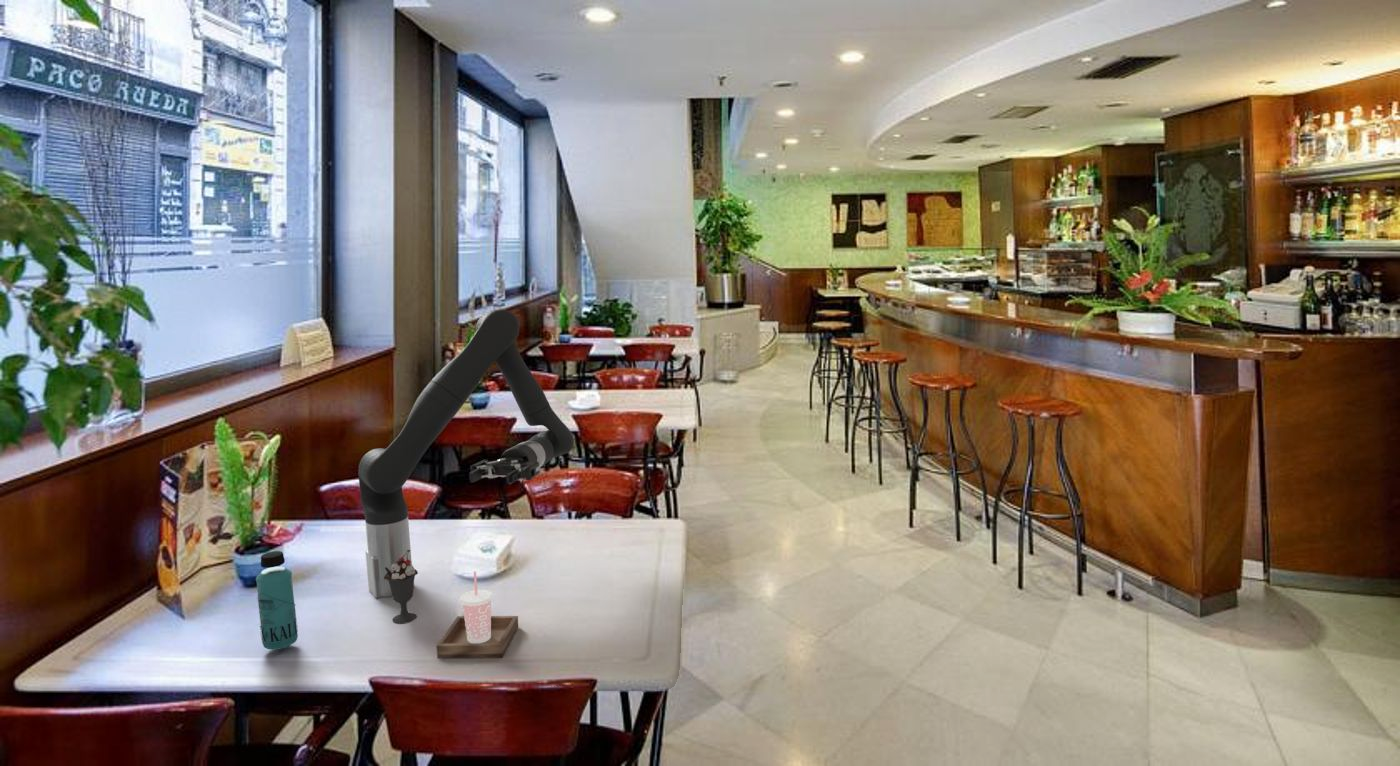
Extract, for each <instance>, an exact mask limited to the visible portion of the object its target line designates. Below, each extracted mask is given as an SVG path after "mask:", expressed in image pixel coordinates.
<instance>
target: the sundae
mask: <svg viewBox="0 0 1400 766" xmlns="http://www.w3.org/2000/svg"><path fill="white" fill-rule="evenodd" d="M407 552H408V553H409V552H410V550H407ZM407 552H406V553H407ZM405 555H406V554H405ZM405 555H404V556H405ZM404 556H403V557H404ZM407 556H408V554H407ZM403 557H402V558H399V560H398V561H397V562H395V563H394V564H393V565H392V567H391V571H390V570H389V569H388V568H387V567H385V569H386V571H387V572H388V573H386V574H385V576H384V579H386V580H388V581H389V584H390V588H391V593H392V596H391V597H392V599H393V601H395V603H397V604H399V605H400V613H398V614H397V615H395V616H394V617H392V620H391V621H392V622H393V623H395V624H407V623H410V622H413V621H415V620H416V619H417V617H418V616H417V614H416V613H415V612H414V613H413V612H409V610H408V606H407V604H408V602H409V601H411V599H412V598H413V596H414V590H415V589H414V585H415V584H414V583H415V578H416V577H415V576H416V575H418V573H419V572H418V571H417V569H416V568H415V567H414V565H413V564H412V565H410V563H411V561H410V560H408V557H407V560H406V561H404V558H403Z"/></svg>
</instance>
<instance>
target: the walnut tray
mask: <svg viewBox="0 0 1400 766" xmlns="http://www.w3.org/2000/svg"><path fill="white" fill-rule="evenodd" d="M518 629H519V616H518V615H491V638H490V639H489V640H488V641H486V642H483V643H470V642H468V641H467V633H466V626H465V618H464V615H461V616H460V615H459V616H457V617H456V618H455V620H454V621H453V622H452V623H451V625H450V626H449V628H448V629H447V630H446V632H445V634H444V635H443V636H442V637H441V639H440V640H439V642H438V643H437V644H436V655H437V659H502V658H503V657H504V655H505V654H506V652H507V650H508V648H509V646H510V645H511V643H512V641H513V639H514V637H515V635H516V633H517V631H518Z"/></svg>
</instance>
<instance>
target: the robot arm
mask: <svg viewBox="0 0 1400 766" xmlns="http://www.w3.org/2000/svg"><path fill="white" fill-rule="evenodd" d="M475 326H476V327H475V333H474V334H473V336H472V337H471V339H470V340H469V341H468V343H467V344H466V346H465V347H464V348H463V350H461V351H460V352H459V353H458V354H457V355H456V356H455V357H454V358H453V359H452V360H451V361H449V362H448V363H447V364H446V365H445V366H444V367H443V368H441V370H439V371H438V373H436V374H435V376H434V377H433V378H432V379H431V380H430V381H429V382H428V384H427V385H426V386H425V387H424V389H423V390H422V391H421V393H420V394H419V395H418V397H417V398H416V400H415V402H414V404H413V405H412V408H411V409H410V410H411V411H410V413H409V415H408V418H407V419H406V422H405V424H404V426H403V428H402V429H401V431H400V432H399V434H398V435H397V436H396V437H395V439H393V441H392V442H391V443H390V444H389V445H388V446H387V447H386V448H383V447H382V448H381V447H380V448H373V449H371V450H369V451H368V452H367V453H365V454H364V455H363V456H362V458H361V459H360V460H359V464H358V472H357V473H358V483H359V493H360V503H361V507H362V509H363V510H362V511H363V514H364V521H365V532H366V543H367V544H366V545H367V550H365V560H366V561H365V562H366V573H367V582H368V591H369V592H370V594H372V595H373V596H374V598H377V599H378V598H382V597H383V598H384V597H386V598H387V597H392V593H391V588H390V584H389V581H388V580H386V579H384V576H385V574H386V573H388V572H387V571H386V569H385V567H387V568H388V569H389V570H390V571H391V567H392V565H393V564H394V563H395V562H397V561H398V560H399V558H402V557H403V556H404V555H405V554H406V555H405V556H404V557H403V558H404V561H406V560H407V557H408V560H410V561H411V563H410V565H412V566H413V563H412V551H411V550H412V549H411V548H412V547H411V539H410V538H411V537H410V536H411V535H410V525H409V524H410V521H409V512H408V509H409V508H408V505H407V502H406V498H405V497H404V492H403V486H404V485H405V484H406V483H407V481H408V479H409V478H410V476H411V474H412V473H413V472H414V470H415V469H416V466H417V465H418V463H419V462H420V460H421V459H422V458H423V456H424V454H425V453H426V452H427V450H428V449H429V447H430V446H431V445H432V444H433V442H434V441H435V440H436V439H437V438H438V436H439V435H440V434H441V433H442V432H443V430H444V429H445V428H446V426H447V425H448V424H449V423H450V421H452V420H453V419H454V417H455V416H456V415H457V414H458V412H459V411H460V409H462V407H463V405H465V403H466V402H467V401H468V399H469V397H470V396H471V394H472V393H473V392H474V391H475V389H476V388H477V387H478V385H479V383H480V382H481V380H482V379H483V377H484V376H485V374H486V373H487V371H488V370H489V369H490V367H491V366H492V365H493V364H494V363H495V364H496V365H497V367H498V369H499V370H500V372H501V374H502V377H504V380H505V382H506V383H507V385H508V387H509V390H510V391H511V393H512V395H513V398H514V400H515V402H516V404H517V406H518V408H519V410H520V413H521V414H522V416H523V418H524V420H525V422H526V424H527V425H528V426H530V427H536V426H543V427H545V428H546V429H547V430H545V431H542V432H540V433H537V434H534V435H533V436H531V438H529V439H528V440H526V441H521V442H520V443H518V444H516V445H514V446H512V447H510V448H508V449H506V450H505V451H503V453H502V454H501V456H500V458H499V459H497V460H493V461H489V460H488V459H482V460H480V461H478V462H475V463H473V464H472V465H470V472H469V473H468V481H469V482H470V483H475V482H477V481H480V480H481V479H484V478H488V479H495V478H498V477H501V478H506V484H507V485H513V484H514V483H516V482H517V481H522V480H524V479H525V481H530V480H532V479H534V478H535V477H536V476H538V475H539V474H541V473H540V469H541V467H543V466H545V465H546V464H547V463H549V462H550V460H553V458H557V457H559V456H563V455H565V454H568V453H570V452H571V451H572V450H573V448H574V445H575V440H574V435H573V433H572V432H571V430H570V429H569V427H568V426H567V425H566V424H565V423H564V422H563V421H562V420H561V418H560V417H559V416H558V415H557V414H556V412H555V411H554V410H553V408H552V407H551V404H550V403H549V400H548V399H547V396H546V394H545V392H544V391H543V388H542V386H541V385H540V383H539V382H538V380H537V379H536V377H535V376H534V375H533V373H532V371H531V369H529V368H528V365H526V363H525V360H524V359H523V357H522V356H521V354H520V351H519V349H518V346H517V343H516V340H517V338H518V336H519V333H520V323H519V320H518V318H517V316H516V315H515V314H514V313H513V312H511V311H510V310H507V309H503V308H501V309H499V308H497V309H493V310H490V311H488V312H486V313H484V314H483V315H482V316H480V317H479V319H478V320H477V322H476V325H475ZM492 471H493V472H494V473H493V472H492ZM407 550H410V552H409V553H408V552H407ZM406 552H407V553H406ZM407 554H408V556H407Z"/></svg>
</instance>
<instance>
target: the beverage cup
mask: <svg viewBox="0 0 1400 766" xmlns="http://www.w3.org/2000/svg"><path fill="white" fill-rule="evenodd" d="M473 582H474V589H473V590H470V591H466V592H464V593H463V594H462V595H460V603H461V605H462V609H463V611H462V612H463V616H464V618H465V626H466V633H467V641H468V642H470V643H483V642H486V641H488V640H489V639H490V638H491V616H492V600H493V593H492V592H491V590H488V589H478V584H477V583H478V578H477V571H473Z"/></svg>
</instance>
